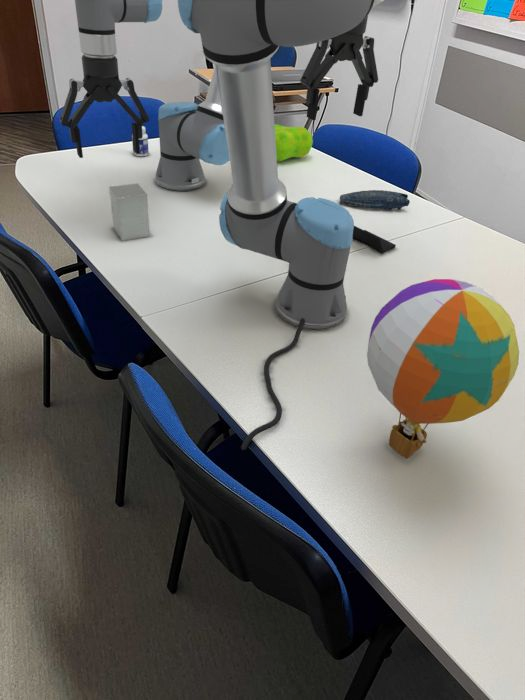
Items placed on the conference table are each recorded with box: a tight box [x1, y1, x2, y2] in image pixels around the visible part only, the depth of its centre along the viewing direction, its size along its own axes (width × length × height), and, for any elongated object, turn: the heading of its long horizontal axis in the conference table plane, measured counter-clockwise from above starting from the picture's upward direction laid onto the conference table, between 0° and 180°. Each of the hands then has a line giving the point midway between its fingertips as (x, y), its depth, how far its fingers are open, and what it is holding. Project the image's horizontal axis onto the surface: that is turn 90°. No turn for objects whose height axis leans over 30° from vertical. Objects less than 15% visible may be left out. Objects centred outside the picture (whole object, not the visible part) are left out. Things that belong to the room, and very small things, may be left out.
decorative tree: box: [274, 123, 314, 163], centre depth 185 cm, size 18×10×30 cm
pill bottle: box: [131, 125, 150, 157], centre depth 178 cm, size 5×5×9 cm
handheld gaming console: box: [352, 225, 397, 255], centre depth 137 cm, size 12×7×10 cm
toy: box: [366, 278, 520, 459], centre depth 74 cm, size 20×20×30 cm
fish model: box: [339, 189, 411, 211], centre depth 158 cm, size 7×21×5 cm, turn 84°
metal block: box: [108, 183, 151, 242], centre depth 131 cm, size 7×7×11 cm
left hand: (109, 154), depth 126 cm, fingers open, 13 cm apart
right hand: (334, 116), depth 123 cm, fingers open, 13 cm apart
